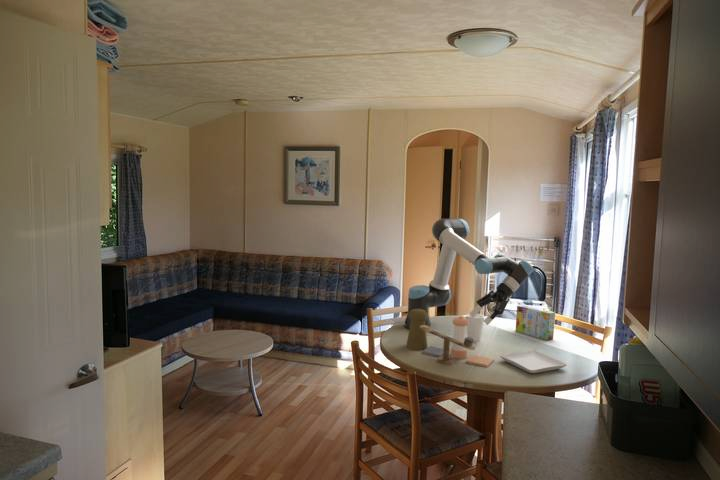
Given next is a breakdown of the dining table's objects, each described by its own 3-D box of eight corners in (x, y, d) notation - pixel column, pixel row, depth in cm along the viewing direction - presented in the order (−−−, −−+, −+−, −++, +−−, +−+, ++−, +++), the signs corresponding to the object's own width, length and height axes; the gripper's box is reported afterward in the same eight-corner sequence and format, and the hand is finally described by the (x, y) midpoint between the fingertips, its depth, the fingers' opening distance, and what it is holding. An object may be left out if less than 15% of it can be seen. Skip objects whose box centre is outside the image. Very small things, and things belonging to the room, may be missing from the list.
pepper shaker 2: (455, 359, 229) (457, 318, 227) (448, 354, 236) (450, 314, 234) (469, 358, 231) (471, 318, 229) (462, 353, 238) (464, 314, 236)
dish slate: (421, 353, 236) (421, 351, 236) (430, 347, 245) (430, 346, 245) (441, 357, 231) (441, 355, 231) (449, 351, 239) (449, 349, 239)
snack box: (553, 339, 265) (555, 312, 264) (547, 341, 262) (549, 313, 260) (521, 329, 282) (522, 304, 281) (514, 331, 279) (516, 305, 278)
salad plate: (530, 377, 210) (531, 369, 209) (498, 361, 229) (498, 354, 229) (568, 371, 218) (568, 363, 218) (533, 356, 237) (533, 349, 237)
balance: (416, 357, 230) (417, 326, 229) (422, 354, 235) (423, 324, 234) (471, 369, 216) (473, 337, 214) (476, 365, 221) (478, 334, 219)
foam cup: (481, 337, 265) (483, 314, 263) (484, 342, 255) (485, 318, 254) (464, 336, 266) (465, 313, 264) (466, 341, 256) (467, 317, 255)
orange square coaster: (465, 362, 225) (465, 360, 224) (473, 356, 233) (473, 354, 233) (487, 367, 219) (487, 365, 219) (494, 361, 228) (494, 359, 228)
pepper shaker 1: (412, 342, 253) (414, 306, 251) (431, 346, 247) (432, 309, 245) (402, 347, 244) (403, 309, 242) (421, 352, 238) (422, 313, 236)
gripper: (489, 277, 248) (460, 308, 245) (518, 287, 224) (487, 320, 221) (497, 287, 250) (470, 318, 247) (527, 298, 226) (496, 331, 223)
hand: (478, 319), depth 234 cm, fingers open, 13 cm apart
